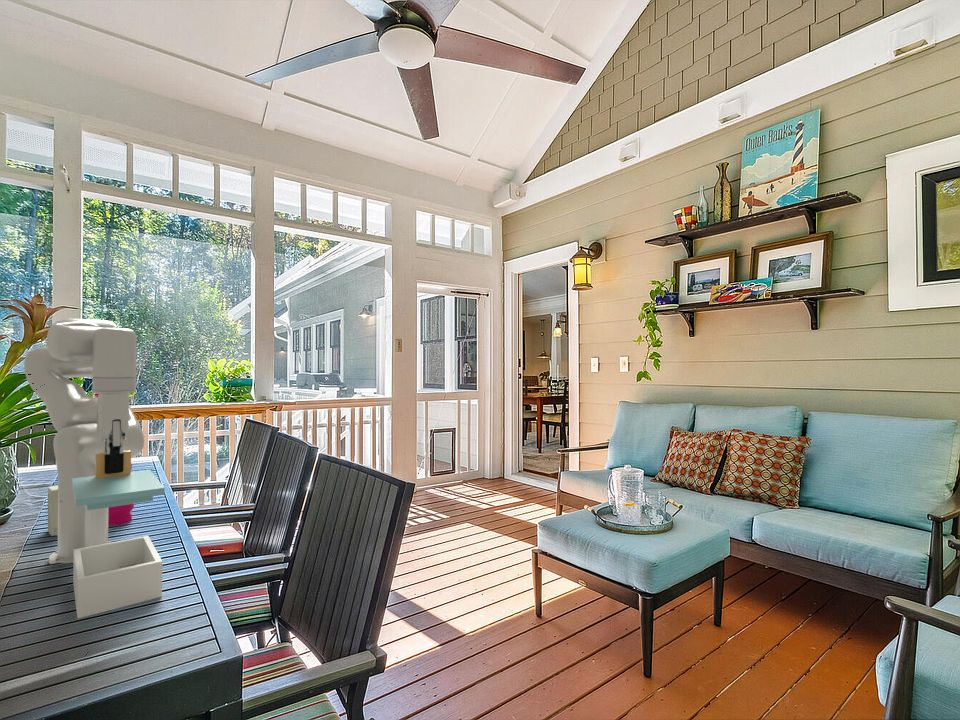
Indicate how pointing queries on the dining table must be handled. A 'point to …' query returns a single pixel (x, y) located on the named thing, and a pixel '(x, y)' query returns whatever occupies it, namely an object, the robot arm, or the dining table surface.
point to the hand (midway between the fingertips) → (113, 471)
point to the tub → (116, 575)
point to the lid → (115, 486)
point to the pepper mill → (120, 514)
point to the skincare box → (53, 510)
